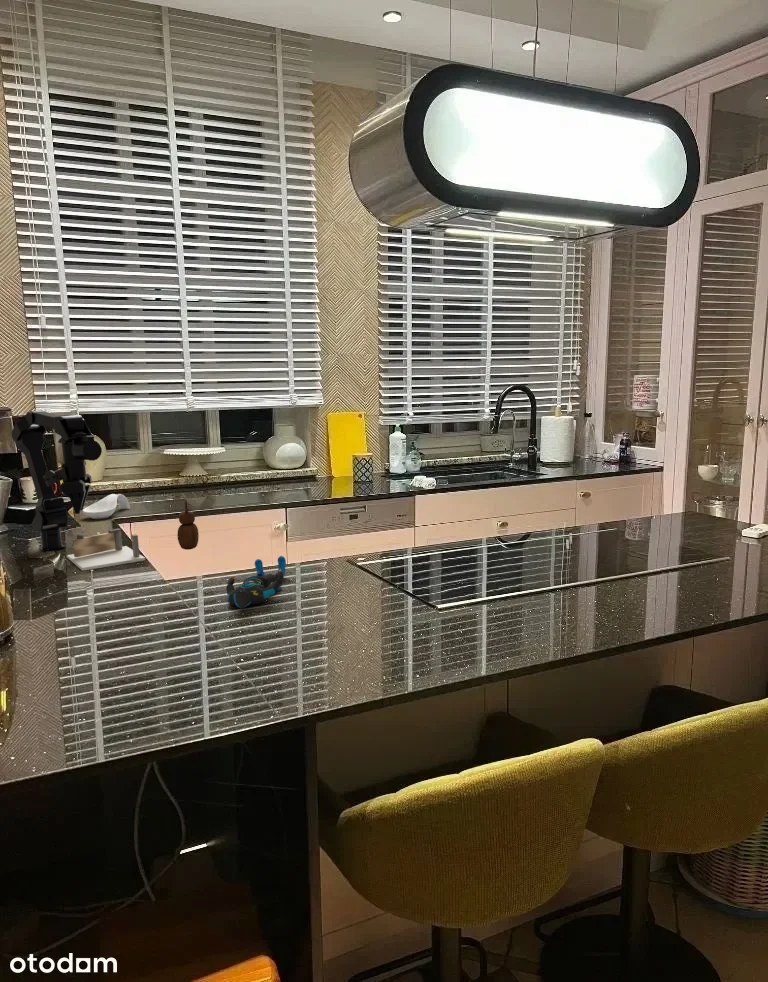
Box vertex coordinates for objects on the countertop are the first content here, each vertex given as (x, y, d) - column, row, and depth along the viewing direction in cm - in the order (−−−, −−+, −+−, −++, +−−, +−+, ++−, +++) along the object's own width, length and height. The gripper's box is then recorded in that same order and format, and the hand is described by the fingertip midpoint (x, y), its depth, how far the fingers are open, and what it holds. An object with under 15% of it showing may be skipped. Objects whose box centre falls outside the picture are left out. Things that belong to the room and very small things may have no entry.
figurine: (295, 554, 190) (266, 582, 160) (298, 578, 191) (270, 610, 161) (244, 560, 191) (206, 589, 162) (248, 584, 192) (211, 618, 162)
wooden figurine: (195, 550, 223) (192, 500, 220) (176, 551, 223) (172, 501, 220) (201, 545, 229) (198, 497, 227) (182, 546, 230) (179, 497, 227)
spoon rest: (106, 521, 275) (104, 501, 273) (77, 521, 277) (75, 502, 276) (138, 509, 298) (136, 491, 296) (110, 509, 300) (109, 491, 299)
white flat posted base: (67, 557, 219) (64, 534, 218) (126, 548, 229) (124, 526, 227) (82, 570, 204) (79, 545, 202) (145, 560, 213) (143, 536, 212)
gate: (119, 546, 225) (117, 527, 224) (122, 547, 224) (121, 527, 223) (73, 556, 215) (71, 536, 214) (76, 557, 214) (74, 536, 213)
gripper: (50, 457, 225) (55, 508, 227) (37, 464, 207) (43, 519, 209) (89, 455, 227) (94, 505, 230) (80, 461, 209) (85, 516, 212)
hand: (79, 511), depth 220 cm, fingers open, 6 cm apart
